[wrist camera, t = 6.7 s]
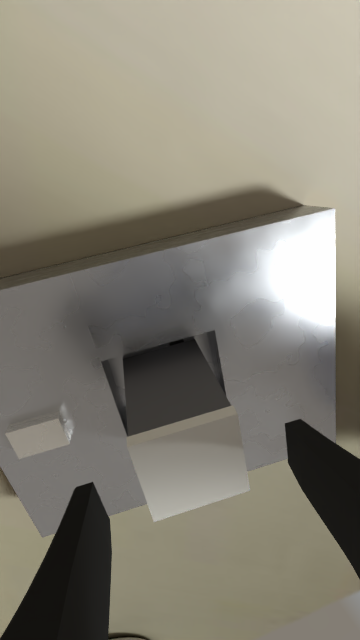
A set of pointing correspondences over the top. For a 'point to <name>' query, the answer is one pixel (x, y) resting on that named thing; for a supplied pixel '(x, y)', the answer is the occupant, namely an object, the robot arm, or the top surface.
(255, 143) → the top surface
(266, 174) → the top surface
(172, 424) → the plug
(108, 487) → the socket plate
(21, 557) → the top surface
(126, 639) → the supplement tub
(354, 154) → the top surface
